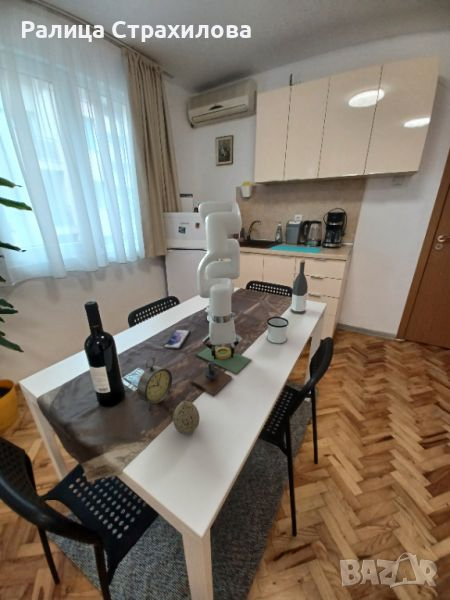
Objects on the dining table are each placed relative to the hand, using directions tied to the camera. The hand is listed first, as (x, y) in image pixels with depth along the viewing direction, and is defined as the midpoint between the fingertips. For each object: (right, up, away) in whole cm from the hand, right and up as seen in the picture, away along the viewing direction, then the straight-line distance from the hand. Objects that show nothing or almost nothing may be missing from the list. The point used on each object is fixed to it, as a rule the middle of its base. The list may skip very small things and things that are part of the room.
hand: (223, 355), depth 97 cm
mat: (0, -1, 0) cm, 1 cm away
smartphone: (-21, +4, +14) cm, 26 cm away
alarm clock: (-21, -10, -19) cm, 30 cm away
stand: (-4, -6, -12) cm, 14 cm away
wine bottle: (+43, +16, +40) cm, 61 cm away
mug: (+25, +5, +14) cm, 29 cm away
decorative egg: (-10, -14, -30) cm, 34 cm away
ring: (0, +1, 0) cm, 1 cm away
